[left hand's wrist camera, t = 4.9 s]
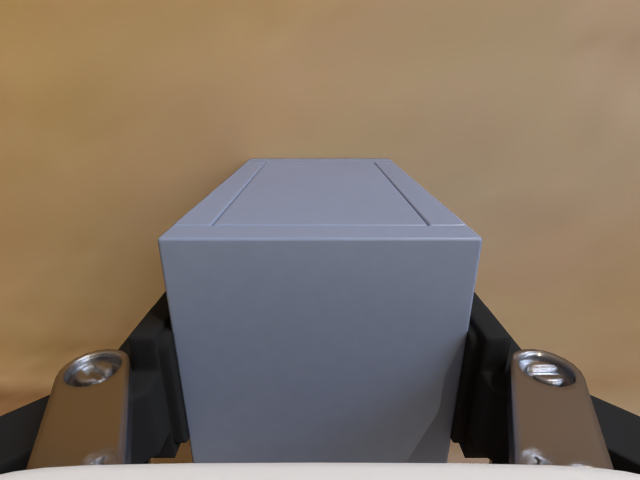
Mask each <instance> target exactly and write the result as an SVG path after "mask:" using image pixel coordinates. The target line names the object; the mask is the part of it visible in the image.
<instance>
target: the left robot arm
mask: <svg viewBox="0 0 640 480" xmlns="http://www.w3.org/2000/svg"><path fill="white" fill-rule="evenodd" d="M188 439H189V433H188V427H187V421H186V414H185V408H184V402H183V396H182V389H181V383H180V377H179V370H178V364H177V358H176V352H175V345H174V339H173V333H172V326H171V320H170V314H169V308H168V301H167V295H166V292H165V293H164V294H163V295H162V297H161V298H160V299H159V300H158V302H157V303H156V304H155V305H154V306H153V307H152V308H151V310H150V311H149V312H148V313H147V315H146V316H145V317H144V318H143V320H142V321H141V322H140V323H139V325H138V326H137V327H136V328H135V329H134V331H133V332H132V333H131V334H130V336H129V337H128V338H127V339H126V341H125V342H124V343H123V344H122V346H121V347H120V348H119V349H118V350H117V349H105V350H97V351H94V352H90V353H87V354H85V355H82V356H80V357H78V358H76V359H74V360H73V361H71V362H69V363H68V364H66V365H65V366H64V367H63V368H62V369H61V370H60V371H59V373H58V375H57V376H56V378H55V381H54V384H53V387H52V391H51V394H50V395H48V396H46V397H44V398H41V399H39V400H37V401H35V402H32V403H30V404H28V405H25V406H23V407H21V408H19V409H16V410H14V411H12V412H9V413H7V414H5V415H3V416H0V480H640V417H639V416H637V415H635V414H633V413H630V412H628V411H626V410H623V409H621V408H619V407H617V406H614V405H612V404H610V403H607V402H605V401H603V400H601V399H598V398H596V397H594V396H591V395H590V394H589V391H588V387H587V384H586V381H585V378H584V376H583V375H582V373H581V371H580V370H579V369H578V368H577V367H576V366H575V365H574V364H572V363H571V362H569V361H567V360H566V359H564V358H562V357H560V356H558V355H555V354H553V353H550V352H546V351H543V350H535V349H523V350H521V349H520V347H519V346H518V345H517V344H516V342H515V341H514V340H513V339H512V337H511V336H510V335H509V334H508V332H507V331H506V330H505V329H504V328H503V326H502V325H501V324H500V323H499V321H498V320H497V319H496V318H495V316H494V315H493V314H492V313H491V311H490V310H489V309H488V308H487V307H486V306H485V305H484V303H483V302H482V301H481V300H480V298H479V297H478V296H477V295H476V293H475V292H474V295H473V301H472V308H471V314H470V320H469V326H468V332H467V338H466V344H465V350H464V357H463V363H462V369H461V376H460V382H459V388H458V395H457V401H456V407H455V413H454V420H453V426H452V432H451V439H452V441H453V442H454V443H459V444H460V447H461V449H462V452H463V454H464V457H465V458H489V459H490V460H489V464H467V463H173V464H151V460H150V459H151V458H152V457H153V458H175V456H176V453H177V451H178V448H179V446H180V443H186V442H187V441H188Z"/></svg>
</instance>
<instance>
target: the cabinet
mask: <svg viewBox="0 0 640 480" xmlns="http://www.w3.org/2000/svg"><path fill="white" fill-rule="evenodd" d="M158 245H159V251H160V257H161V263H162V270H163V276H164V282H165V289H166V295H167V301H168V308H169V314H170V320H171V326H172V333H173V339H174V345H175V352H176V358H177V364H178V370H179V377H180V383H181V389H182V396H183V402H184V408H185V414H186V421H187V427H188V433H189V440H190V446H191V452H192V459H193V463H447V459H448V452H449V446H450V440H451V432H452V426H453V420H454V413H455V407H456V401H457V395H458V388H459V382H460V376H461V369H462V363H463V357H464V350H465V344H466V338H467V332H468V326H469V320H470V314H471V308H472V301H473V295H474V289H475V282H476V276H477V270H478V264H479V257H480V251H481V245H482V238H481V237H480V236H479V235H478V234H476V233H475V232H474V231H473V230H472V229H471V228H469V227H468V226H466V224H465V223H464V222H463V221H461V220H460V219H459V218H458V217H457V216H456V215H454V214H453V213H452V212H451V211H450V210H449V209H447V208H446V207H445V206H444V205H443V204H441V203H440V202H439V201H438V200H437V199H436V198H434V197H433V196H432V195H431V194H430V193H429V192H427V191H426V190H425V189H424V188H423V187H421V186H420V185H419V184H418V183H417V182H416V181H414V180H413V179H412V178H411V177H410V176H409V175H407V174H406V173H405V172H404V171H403V170H401V169H400V168H399V167H398V166H397V165H396V164H394V163H393V162H392V161H391V160H390V159H250V160H248V161H247V162H246V163H245V164H244V165H243V166H242V167H240V168H239V169H238V170H237V171H236V172H234V173H233V174H232V175H231V176H230V177H229V178H227V179H226V180H225V181H224V182H223V183H222V184H220V185H219V186H218V187H217V188H216V189H215V190H213V191H212V192H211V193H210V194H209V195H208V196H206V197H205V198H204V199H203V200H202V201H201V202H199V203H198V204H197V205H196V206H195V207H194V208H192V209H191V210H190V211H189V212H188V213H187V214H185V215H184V216H183V217H182V218H181V219H180V220H178V221H177V222H176V223H175V224H174V225H173V226H172V227H171V228H170V229H168V230H167V231H166V232H165V233H164V234H163V235H161V236H160V237H159V238H158Z"/></svg>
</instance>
